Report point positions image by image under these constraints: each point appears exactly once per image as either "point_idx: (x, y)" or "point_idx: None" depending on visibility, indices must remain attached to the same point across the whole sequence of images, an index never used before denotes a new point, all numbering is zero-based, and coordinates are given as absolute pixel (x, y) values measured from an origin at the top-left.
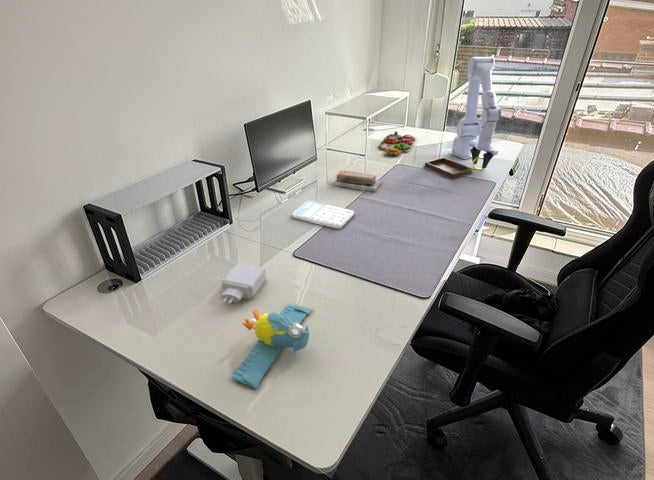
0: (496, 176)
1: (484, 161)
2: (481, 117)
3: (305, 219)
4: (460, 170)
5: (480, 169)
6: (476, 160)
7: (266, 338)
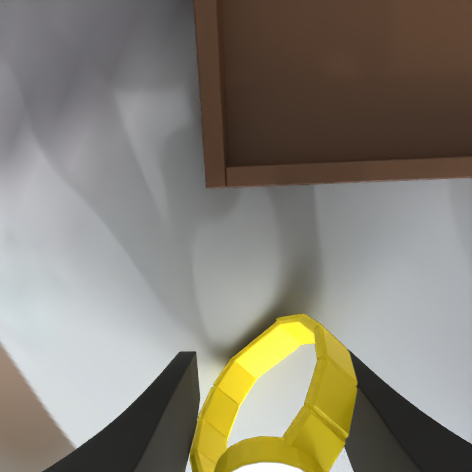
0: (26, 349)
1: (133, 415)
2: None
3: None
4: (343, 115)
5: (237, 353)
6: None
7: None
